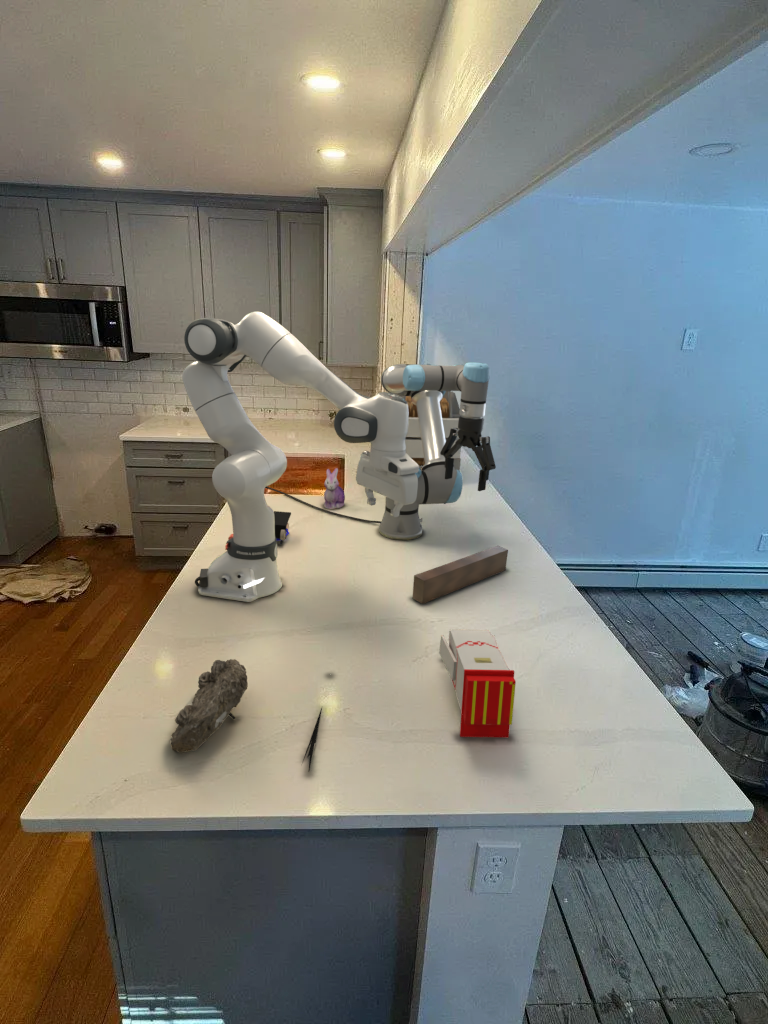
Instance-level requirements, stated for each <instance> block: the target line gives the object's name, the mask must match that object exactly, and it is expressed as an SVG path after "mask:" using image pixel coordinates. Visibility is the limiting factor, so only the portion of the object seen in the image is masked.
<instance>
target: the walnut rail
mask: <svg viewBox="0 0 768 1024" xmlns="http://www.w3.org/2000/svg"><path fill="white" fill-rule="evenodd" d="M508 554H509V549H508V548H505V547H503V546H501V545H495V546H493V547H489V548H487V549H485V550H484V549H483V550H481V551H478V552H476V553H473V554H470V555H467V556H465V557H461V558H459V559H456V560H453V561H450V562H448V563H445V564H442V565H439V566H437V567H434V568H431V569H428V570H425V571H423V572H420V573H417V574H414V575H413V582H412V583H413V585H412V599H413V600H415V601H417V602H418V603H420V604H422V605H423V604H426V603H428V602H431V601H433V600H435V599H438V598H442V597H444V596H446V595H449V594H451V593H453V592H455V591H458V590H460V589H463V588H466V587H468V586H470V585H473V584H475V583H478V582H481V581H484V580H486V579H488V578H490V577H492V576H495V575H498V574H500V573H503V572H504V571H506V570H507V563H508Z"/></svg>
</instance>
